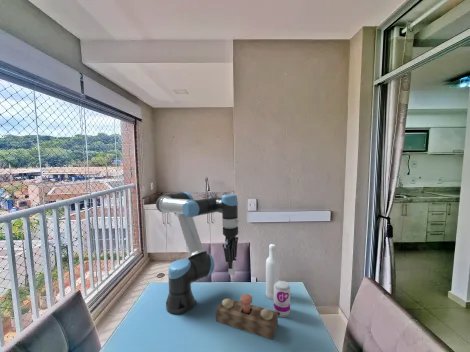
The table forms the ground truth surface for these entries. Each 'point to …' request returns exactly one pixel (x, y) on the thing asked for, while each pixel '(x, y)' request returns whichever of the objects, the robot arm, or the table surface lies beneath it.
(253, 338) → the table surface
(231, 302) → the maple plug
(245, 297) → the brick-red plug
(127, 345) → the table surface
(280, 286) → the supplement can
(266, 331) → the socket board
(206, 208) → the robot arm
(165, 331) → the table surface
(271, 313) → the maple plug
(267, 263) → the bottle
